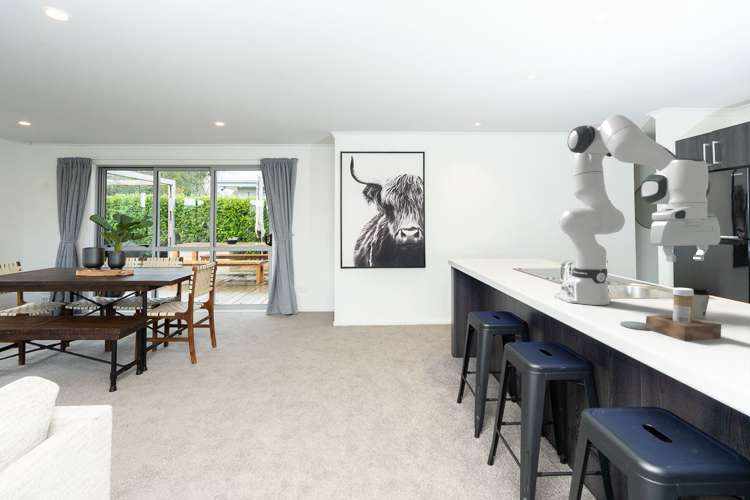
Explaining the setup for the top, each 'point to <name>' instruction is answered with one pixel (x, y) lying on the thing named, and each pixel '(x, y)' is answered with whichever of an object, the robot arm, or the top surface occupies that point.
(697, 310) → the coffee cup
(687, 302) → the sprinkles bottle
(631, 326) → the coaster
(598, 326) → the top surface
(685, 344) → the top surface
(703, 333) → the holder block
